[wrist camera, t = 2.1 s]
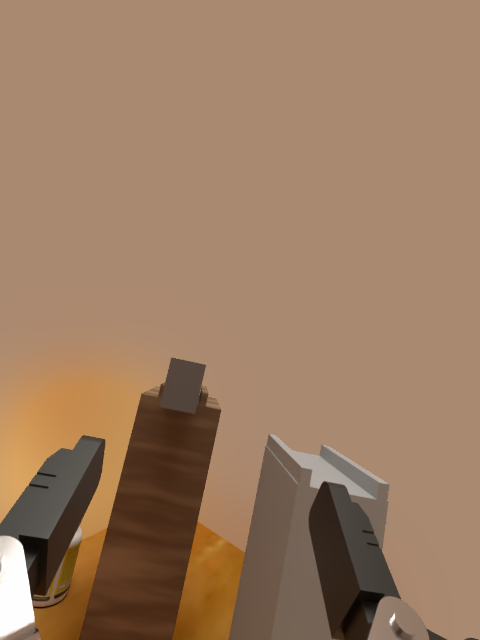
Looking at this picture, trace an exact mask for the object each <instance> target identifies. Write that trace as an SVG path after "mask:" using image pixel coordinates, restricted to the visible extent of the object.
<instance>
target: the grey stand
mask: <svg viewBox="0 0 480 640" xmlns="http://www.w3.org/2000/svg"><path fill="white" fill-rule="evenodd" d="M324 481H327V482H332V483H337V484H343V485H345V486H346V488H347V490H348V493H349V495H350V498H351V501H352V502H355V503H358V504H359V505H360V507H361V508H362V509H363V511H364V512H365V513H366V515H367V516H368V518H369V520H370V523H371V525H372V528H373V530H374V535H376V538H377V540H378V543H379V548H381V550H382V547H383V539H384V531H385V523H386V516H387V508H388V501H387V498H388V490H389V484H388V483H386V482H385V481H383V480H381V479H380V478H378V477H377V476H375V475H373V474H372V473H370V472H368V471H367V470H366V469H364V468H362V467H360V466H359V465H357V464H356V463H354V462H353V461H351V460H350V459H348V458H346V457H345V456H343V455H342V454H340V453H339V452H337V451H335V450H334V449H332V448H331V447H329V446H326V445H321V451H320V456H317V455H312V454H307V453H302V452H297V451H292V450H291V449H290V448H289V447H288V446H287V445H285V444H284V443H283V442H282V441H281V440H280V439H279V438H278V437H277V436H275V435H271V434H269V436H268V441H267V445H266V447H265V452H264V458H263V463H262V468H261V473H260V478H259V483H258V489H257V494H256V500H255V505H254V510H253V515H252V520H251V526H250V531H249V536H248V541H247V546H246V552H245V557H244V562H243V567H242V573H241V578H240V583H239V588H238V594H237V599H236V604H235V609H234V615H233V620H232V625H231V631H230V636H229V640H337V639H332V637H331V632H330V627H329V623H328V618H327V613H326V608H325V603H324V599H323V594H322V589H321V584H320V579H319V575H318V570H317V565H316V560H315V555H314V550H313V546H312V541H311V536H310V531H309V523H308V520H309V512H310V509H311V506H312V504H313V502H314V500H315V497H316V495H317V493H318V491H319V488H320V486H321V484H322V483H323V482H324Z"/></svg>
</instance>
